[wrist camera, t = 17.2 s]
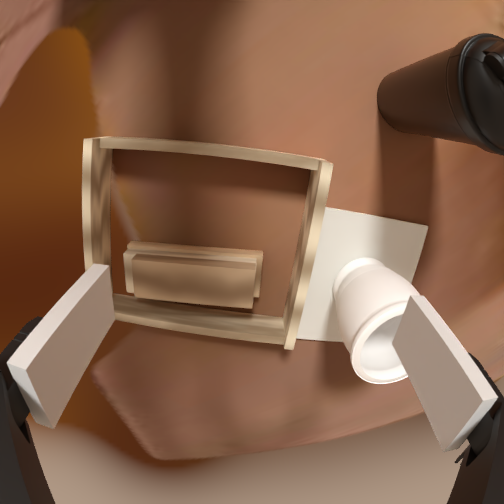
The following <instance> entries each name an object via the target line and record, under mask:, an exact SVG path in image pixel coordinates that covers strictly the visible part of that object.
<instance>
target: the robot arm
mask: <svg viewBox="0 0 504 504" xmlns="http://www.w3.org/2000/svg"><path fill="white" fill-rule="evenodd" d="M114 320H115V314H114V306H113V298H112V289H111V279H110V268H109V265H102V264H93V265H92V266H91V267H90V268H89V269H88V270H87V271H86V272H85V273H84V274H83V275H82V276H81V277H80V278H79V279H78V280H77V281H76V282H75V284H74V285H73V286H72V287H71V288H70V289H69V290H68V291H67V292H66V293H65V294H64V295H63V297H62V298H61V299H60V300H59V301H58V302H57V303H56V304H55V305H54V307H53V308H52V309H51V310H50V311H49V312H48V313H47V314H46V316H45V317H44V318H42V317H36V318H34V319H33V320H31V321H29V322H28V323H27V324H26V325H25V326H24V327H23V328H22V329H21V330H20V333H18V334H17V335H16V336H15V337H14V340H12V341H11V342H10V343H9V344H8V346H7V347H6V348H5V349H4V350H3V352H2V353H1V354H0V504H55V502H54V499H53V497H52V494H51V492H50V489H49V487H48V484H47V481H46V479H45V476H44V473H43V470H42V468H41V465H40V462H39V459H38V456H37V452H36V449H35V446H34V443H33V439H32V436H31V432H30V428H29V425H28V423H27V421H26V417H27V416H28V414H29V412H30V413H31V415H32V416H33V418H34V420H35V422H37V423H39V424H42V425H44V426H47V427H50V428H52V429H54V428H55V426H56V424H57V422H58V420H59V418H60V416H61V414H62V412H63V410H64V408H65V406H66V404H67V403H68V401H69V399H70V397H71V395H72V393H73V391H74V390H75V388H76V386H77V384H78V382H79V380H80V379H81V377H82V375H83V373H84V371H85V370H86V368H87V366H88V364H89V363H90V361H91V359H92V357H93V356H94V354H95V352H96V351H97V349H98V347H99V345H100V344H101V342H102V340H103V339H104V337H105V335H106V334H107V332H108V330H109V328H110V327H111V325H112V324H113V322H114ZM392 346H393V347H394V349H395V351H396V353H397V355H398V357H399V359H400V361H401V363H402V365H403V367H404V369H405V371H406V373H407V375H408V377H409V379H410V381H411V383H412V385H413V387H414V389H415V391H416V394H417V396H418V398H419V400H420V402H421V404H422V406H423V408H424V411H425V413H426V415H427V417H428V419H429V421H430V424H431V426H432V428H433V430H434V433H435V435H436V437H437V439H438V442H439V444H440V446H441V449H442V451H443V452H446V451H450V450H454V449H458V448H459V447H460V446H461V445H462V444H463V442H464V441H465V440H466V439H468V441H469V443H470V445H469V446H468V447H467V448H466V449H465V450H464V452H463V453H462V454H461V455H460V456H459V457H458V458H457V460H456V461H455V463H458V462H459V461H460V460H461V459H462V458H463V460H462V463H461V464H460V465H461V466H460V469H459V472H458V475H457V478H456V481H455V484H454V487H453V489H452V492H451V495H450V498H449V500H448V502H447V504H504V397H503V395H502V394H501V392H500V391H499V390H498V388H497V386H496V385H495V384H494V382H493V381H492V379H491V378H490V377H489V375H488V373H487V372H486V371H485V370H484V368H483V366H482V365H481V364H480V362H479V361H478V360H477V359H476V358H475V357H474V356H473V355H471V354H470V353H467V351H466V350H465V349H464V347H463V346H462V344H461V343H460V342H459V340H458V339H457V338H456V336H455V335H454V334H453V332H452V331H451V330H450V328H449V327H448V326H447V325H446V323H445V322H444V321H443V319H442V318H441V317H440V316H439V314H438V313H437V312H436V311H435V309H434V308H433V307H432V305H431V304H430V303H429V302H428V301H427V299H426V298H425V297H424V296H418V295H410V297H409V300H408V303H407V305H406V308H405V311H404V314H403V316H402V319H401V321H400V324H399V327H398V329H397V332H396V334H395V337H394V339H393V341H392Z"/></svg>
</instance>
